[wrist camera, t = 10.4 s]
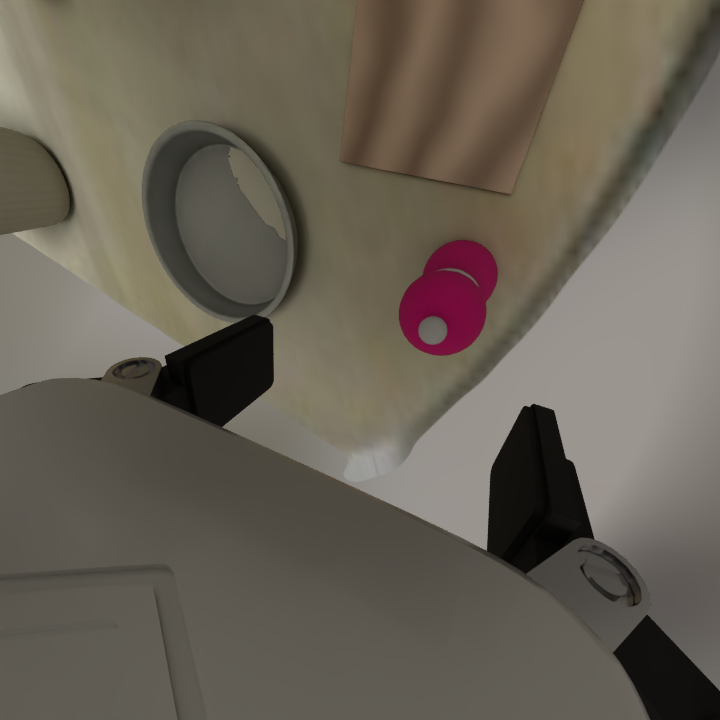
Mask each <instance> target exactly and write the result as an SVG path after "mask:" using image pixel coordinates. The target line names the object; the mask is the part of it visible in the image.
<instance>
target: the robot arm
mask: <svg viewBox="0 0 720 720" xmlns="http://www.w3.org/2000/svg"><path fill="white" fill-rule="evenodd" d="M165 359H166V364H167V365H166V366H164V367H162V366H161V363H160V362H159V361H158V360H156V359H152V358H146V357H139V358H131V359H127V360H123V361H121V362H118V363H116V364H114V365H113V366H111V367H110V368H109V369H108V370H107V372H106V373H105V375H104V376H103V377H101V378H90V379H81V378H59V379H50V380H45V381H41V382H38V383H32V384H29V385H26V386H23V387H21V388H20V389H17V390H14V391H11V392H8V393H5V394H3V395H0V720H720V691H719V690H718V689H717V688H716V687H715V685H714V684H713V683H712V682H711V681H710V680H709V679H708V678H707V677H706V676H705V675H704V674H703V673H702V672H701V671H700V670H699V669H698V668H697V666H695V664H694V663H693V662H692V661H691V660H690V659H689V658H688V657H687V656H686V655H685V654H684V653H683V652H682V651H681V650H680V649H679V648H678V646H676V644H675V643H674V642H673V641H672V640H671V639H670V638H669V637H668V636H667V635H666V634H665V633H664V632H663V631H662V630H661V629H660V627H659V626H658V625H657V624H656V623H655V622H654V621H653V620H652V619H651V618H650V617H649V616H648V615H647V614H648V612H649V610H650V607H651V598H650V593H649V591H648V588H647V586H646V584H645V582H644V580H643V579H642V577H641V576H640V575H639V573H638V572H637V570H636V569H635V568H634V567H633V566H632V565H631V564H630V563H629V562H628V561H627V560H626V559H625V558H624V557H623V556H622V555H620V554H619V553H618V552H617V551H615V550H614V549H612V548H611V547H609V546H607V545H605V544H604V543H602V542H599V541H596V540H594V536H593V532H592V529H591V525H590V521H589V517H588V514H587V510H586V506H585V503H584V499H583V495H582V492H581V488H580V484H579V480H578V477H577V473H576V469H575V466H574V464H573V462H571V461H570V460H567V459H566V457H565V453H564V449H563V445H562V441H561V437H560V433H559V429H558V424H557V420H556V416H555V412H554V410H552V409H548V408H545V407H542V406H539V405H536V404H532V405H531V406H530V407H527V406H524V407H523V408H522V410H521V412H520V414H519V416H518V418H517V420H516V422H515V423H514V425H513V427H512V430H511V431H510V433H509V435H508V437H507V439H506V441H505V443H504V444H503V446H502V448H501V450H500V452H499V454H498V456H497V458H496V460H495V462H494V464H493V466H492V469H491V475H490V496H489V519H488V520H489V521H488V541H487V542H488V543H487V551H486V550H484V549H482V548H480V547H478V546H476V545H474V544H472V543H470V542H468V541H467V540H465V539H463V538H461V537H459V536H456V535H454V534H452V533H450V532H448V531H446V530H444V529H442V528H440V527H438V526H436V525H434V524H431V523H429V522H427V521H425V520H423V519H421V518H419V517H417V516H415V515H413V514H411V513H408V512H406V511H404V510H402V509H400V508H398V507H395V506H393V505H391V504H389V503H387V502H385V501H382V500H380V499H378V498H376V497H374V496H372V495H369V494H367V493H365V492H363V491H361V490H359V489H356V488H354V487H352V486H350V485H348V484H345V483H343V482H341V481H339V480H336V479H335V478H333V477H330V476H328V475H326V474H324V473H321V472H319V471H317V470H315V469H313V468H311V467H308V466H306V465H304V464H302V463H300V462H297V461H295V460H293V459H291V458H289V457H287V456H284V455H282V454H280V453H278V452H275V451H273V450H271V449H269V448H267V447H264V446H262V445H260V444H258V443H256V442H253V441H251V440H249V439H247V438H244V437H242V436H240V435H238V434H236V433H233V432H231V431H229V430H227V429H224V428H222V427H223V426H224V425H225V424H226V423H227V422H229V421H230V420H231V419H232V418H234V417H235V416H236V415H237V414H239V413H240V412H241V411H242V410H243V409H245V408H246V407H247V406H248V405H250V404H251V403H252V402H253V401H254V400H256V399H257V398H258V397H259V396H261V395H262V394H263V393H264V392H266V391H267V390H268V389H269V388H270V387H271V386H272V384H273V381H274V362H273V325H272V324H271V323H270V320H269V319H268V318H265V317H262V316H258V315H252V316H249V317H247V318H245V319H243V320H241V321H239V322H237V323H234V324H232V325H230V326H228V327H226V328H224V329H222V330H219V331H217V332H215V333H213V334H211V335H209V336H207V337H204V338H202V339H200V340H198V341H196V342H194V343H192V344H189V345H187V346H185V347H183V348H181V349H179V350H177V351H174V352H172V353H170V354H168V355H166V356H165Z"/></svg>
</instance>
